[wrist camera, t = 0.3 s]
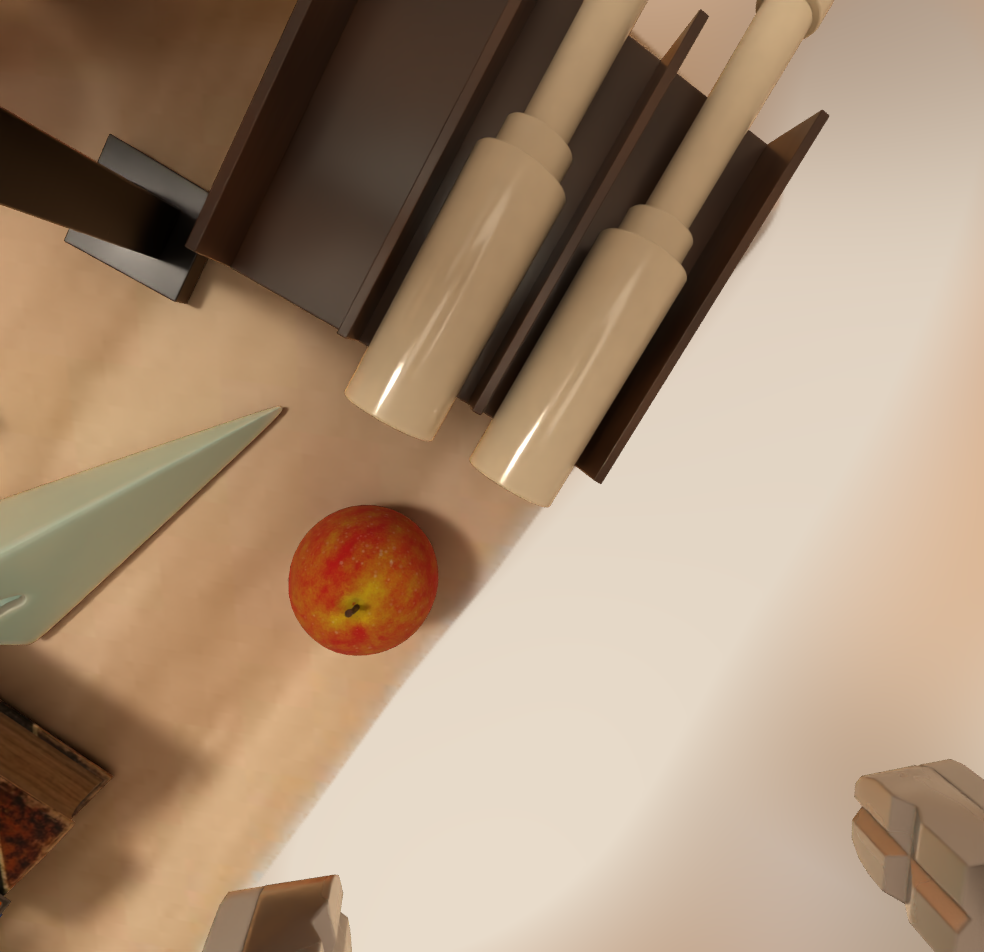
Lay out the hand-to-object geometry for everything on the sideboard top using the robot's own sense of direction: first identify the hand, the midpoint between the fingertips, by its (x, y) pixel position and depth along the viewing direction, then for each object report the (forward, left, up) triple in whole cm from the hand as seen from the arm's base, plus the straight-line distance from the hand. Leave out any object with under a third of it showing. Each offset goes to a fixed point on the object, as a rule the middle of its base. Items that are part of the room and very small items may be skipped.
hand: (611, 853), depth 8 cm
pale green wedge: (-3, -19, -22) cm, 29 cm away
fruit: (+3, -6, -22) cm, 23 cm away
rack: (-12, +1, -22) cm, 25 cm away
